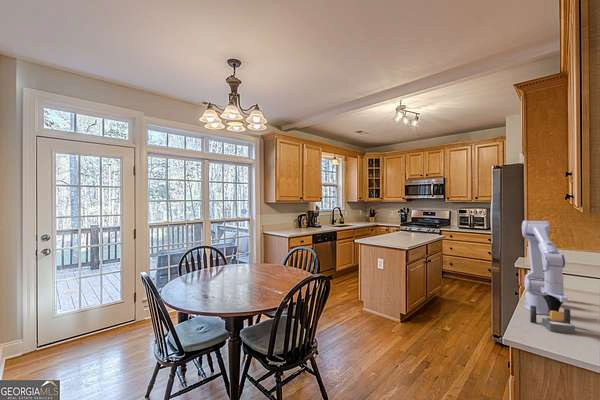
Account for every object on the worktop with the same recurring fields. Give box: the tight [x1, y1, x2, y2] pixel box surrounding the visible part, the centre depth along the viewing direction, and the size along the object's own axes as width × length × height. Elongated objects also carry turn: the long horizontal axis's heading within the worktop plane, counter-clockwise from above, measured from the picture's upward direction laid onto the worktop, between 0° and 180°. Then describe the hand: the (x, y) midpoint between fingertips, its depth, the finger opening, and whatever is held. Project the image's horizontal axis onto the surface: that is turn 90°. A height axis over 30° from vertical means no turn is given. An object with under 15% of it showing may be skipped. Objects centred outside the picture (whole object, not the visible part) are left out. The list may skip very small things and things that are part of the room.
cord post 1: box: [529, 305, 537, 324], centre depth 121 cm, size 2×2×7 cm
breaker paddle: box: [549, 310, 564, 321], centre depth 114 cm, size 1×4×4 cm, turn 73°
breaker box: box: [541, 317, 576, 335], centre depth 114 cm, size 6×8×4 cm
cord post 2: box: [563, 308, 571, 324], centre depth 117 cm, size 2×2×7 cm
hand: (553, 313), depth 116 cm, fingers closed
